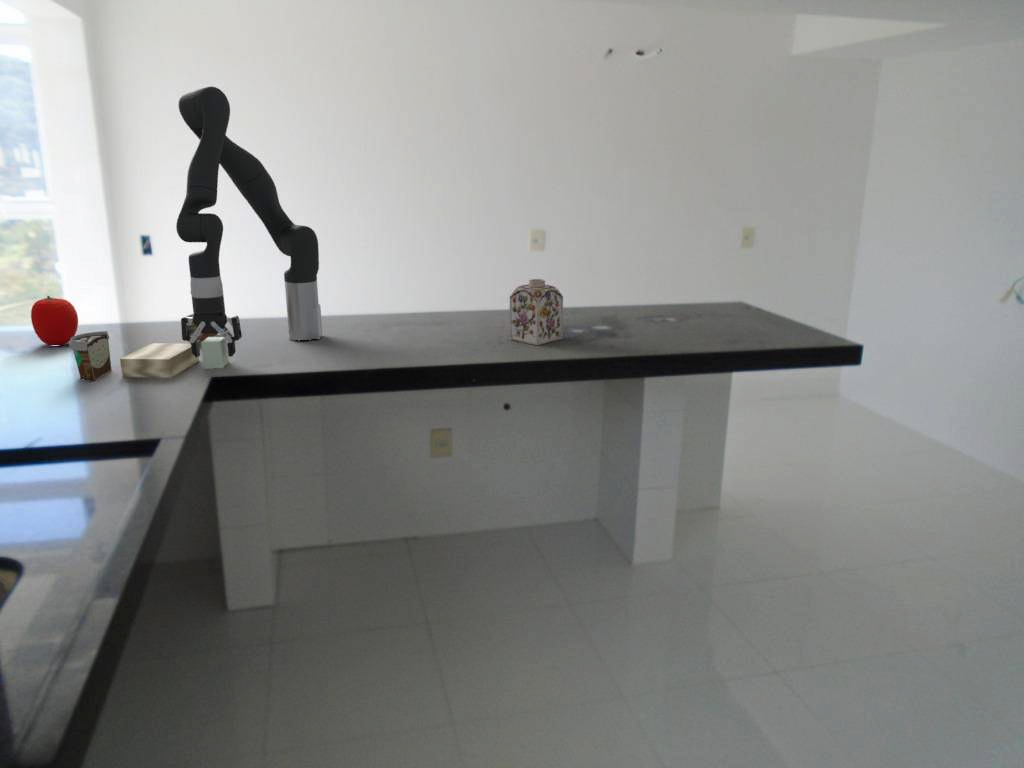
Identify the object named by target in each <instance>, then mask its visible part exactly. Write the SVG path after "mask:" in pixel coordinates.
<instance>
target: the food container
mask: <svg viewBox="0 0 1024 768" xmlns="http://www.w3.org/2000/svg"><path fill="white" fill-rule="evenodd" d="M109 339H110V336H109V333H108V331H107V330H106V331H104V330H103V331H92V332H85V333H80V334H77V335H76V334H75V336H74V337H72V338H71V340H70V341H69V344H68V345H69V349H70V350H72V351H73V355H74V359H75V362H76V365H77V369H78V373H79V377H80V380H82V379H84V380H90V381H89V382H96V381H97V379H98V378H99V379H100V377H101V378H102V377H104V376H106V375H107V374H109V373H111V372H112V370H113V369H112V362H111V354H110V353H111V352H110V343H109ZM105 374H106V375H105ZM99 379H98V380H99ZM84 380H83V381H84ZM95 380H96V381H95Z"/></svg>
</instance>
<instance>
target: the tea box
mask: <svg viewBox="0 0 1024 768" xmlns="http://www.w3.org/2000/svg"><path fill="white" fill-rule="evenodd" d="M227 343H228V341H227V340H226V339H225V338H224V337H222V336H215V337H208V338H206V339H205V340H204V341H202V342H201V343H200V345H201V354H202V362H203V369H204V370H212V369H213V368H222V369H224V368H225V367H226V366H227V365H228V364H229V363H230V359H229V356H228V346H227ZM228 362H229V363H228ZM227 363H228V364H227ZM226 364H227V365H226ZM225 365H226V366H225ZM224 366H225V367H224Z"/></svg>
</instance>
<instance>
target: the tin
mask: <svg viewBox="0 0 1024 768" xmlns="http://www.w3.org/2000/svg"><path fill="white" fill-rule="evenodd" d="M187 316H188V317H194V313H191V314H189V315H187ZM197 328H198V327H197V326H196V325H195V324H194V323H193V322H192V324H191V325H190V336H193V334H194V332H195V331H196V329H197ZM218 334H219V333H217V334H212V333H209V334H204V333H202V334H201V335H200V337H199V338H198V340H197V342H199V344H201V342H202V341H204V340H205V339H206V338H208V337H217V335H218Z"/></svg>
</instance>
